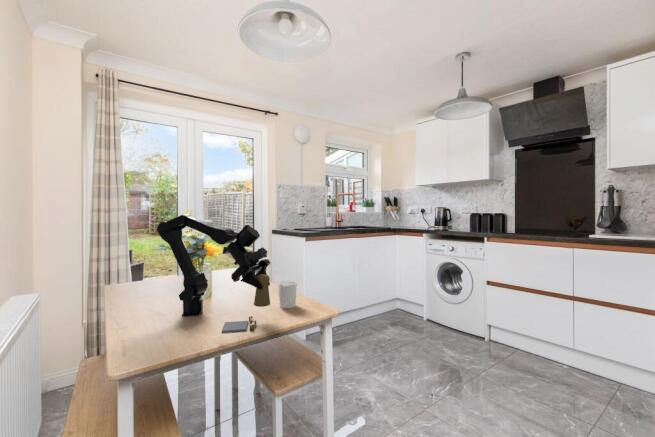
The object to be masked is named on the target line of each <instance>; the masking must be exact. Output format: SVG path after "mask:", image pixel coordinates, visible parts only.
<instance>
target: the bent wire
mask: <svg viewBox="0 0 655 437" xmlns="http://www.w3.org/2000/svg"><path fill="white" fill-rule="evenodd" d="M248 323H250V325H249V331H250V332H252V331H254V330H255V328H256V326H257V320H255V319H254V317H253V316H252V315H250V316H248Z"/></svg>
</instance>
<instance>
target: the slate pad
mask: <svg viewBox="0 0 655 437" xmlns="http://www.w3.org/2000/svg"><path fill="white" fill-rule="evenodd" d="M248 323H249V320H240V321H239V320H238V321H237V320H236V321H225V322H224V324H223V326H222V329H221V334H222V333H223V334H224V333H236V332H247V329H248Z"/></svg>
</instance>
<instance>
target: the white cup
mask: <svg viewBox="0 0 655 437" xmlns="http://www.w3.org/2000/svg"><path fill="white" fill-rule="evenodd" d="M277 285H278V286H277V287H278V298H279V307H280V308H281V309H286V310H287V309H293V308H295V307H296V306H297V305H296V304H297V302H296V301H297V291H298V290H297V289H298V288H297V286H298V282H296V281H293V280H287V281H286V280H283V281H280V282H278V284H277Z"/></svg>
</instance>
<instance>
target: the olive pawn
mask: <svg viewBox="0 0 655 437" xmlns="http://www.w3.org/2000/svg"><path fill="white" fill-rule="evenodd" d="M256 277H257V279H258V280H259V282H260V283H261V285H262V287H263V288H262V289H261V290H260V289H258V288H256V287H255V294H254V300H253V306H254V307H269V306H270V305H271V300H270V297H271V296H270V289H269V286H268V283H269V282H270V280H271V279H270V276H269V275H268V274H267V275H265V274H261V275H258V276H256Z"/></svg>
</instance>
